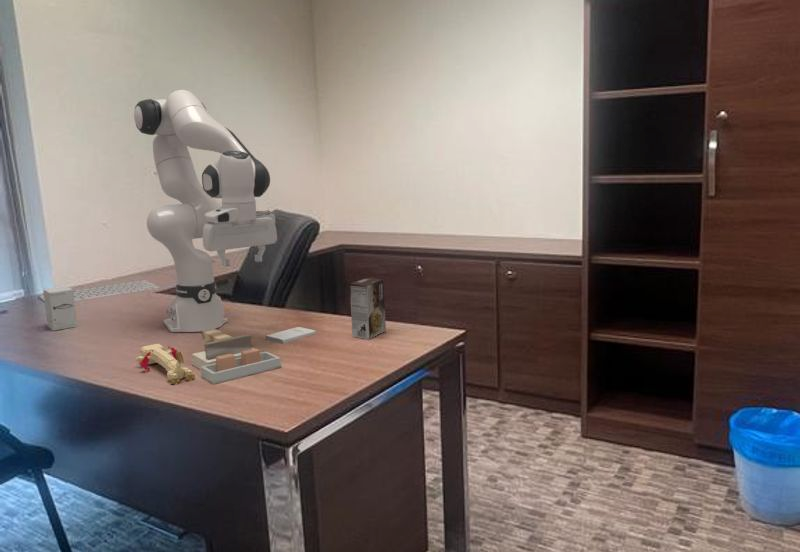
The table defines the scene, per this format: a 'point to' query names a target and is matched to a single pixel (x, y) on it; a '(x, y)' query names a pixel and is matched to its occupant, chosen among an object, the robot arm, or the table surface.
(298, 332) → the external hard drive
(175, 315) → the robot arm
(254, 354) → the tile
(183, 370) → the beige long curved piece
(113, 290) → the computer keyboard
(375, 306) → the coffee box
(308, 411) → the table surface
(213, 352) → the scraper
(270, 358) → the tray
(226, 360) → the tile
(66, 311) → the supplement box
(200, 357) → the board
